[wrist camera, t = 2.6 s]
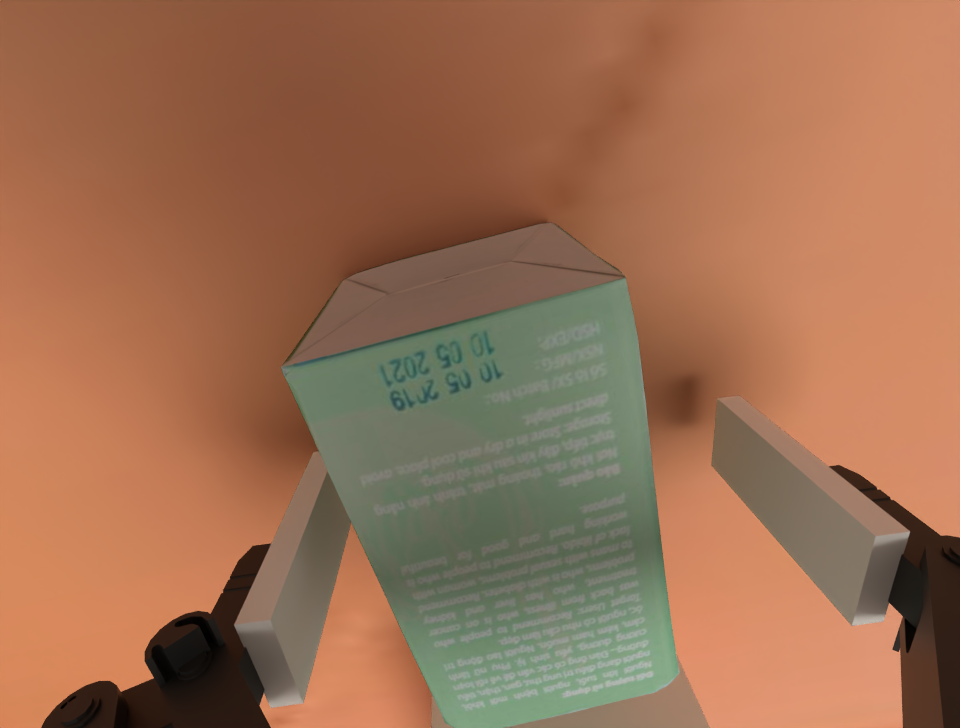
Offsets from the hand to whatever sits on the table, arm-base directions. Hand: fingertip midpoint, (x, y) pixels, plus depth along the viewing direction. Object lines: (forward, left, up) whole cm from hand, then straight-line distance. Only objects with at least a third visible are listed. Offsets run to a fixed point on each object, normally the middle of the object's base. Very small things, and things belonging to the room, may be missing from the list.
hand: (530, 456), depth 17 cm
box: (0, -1, -3) cm, 3 cm away
